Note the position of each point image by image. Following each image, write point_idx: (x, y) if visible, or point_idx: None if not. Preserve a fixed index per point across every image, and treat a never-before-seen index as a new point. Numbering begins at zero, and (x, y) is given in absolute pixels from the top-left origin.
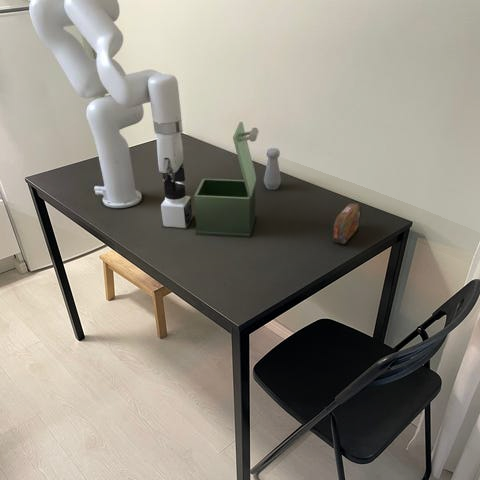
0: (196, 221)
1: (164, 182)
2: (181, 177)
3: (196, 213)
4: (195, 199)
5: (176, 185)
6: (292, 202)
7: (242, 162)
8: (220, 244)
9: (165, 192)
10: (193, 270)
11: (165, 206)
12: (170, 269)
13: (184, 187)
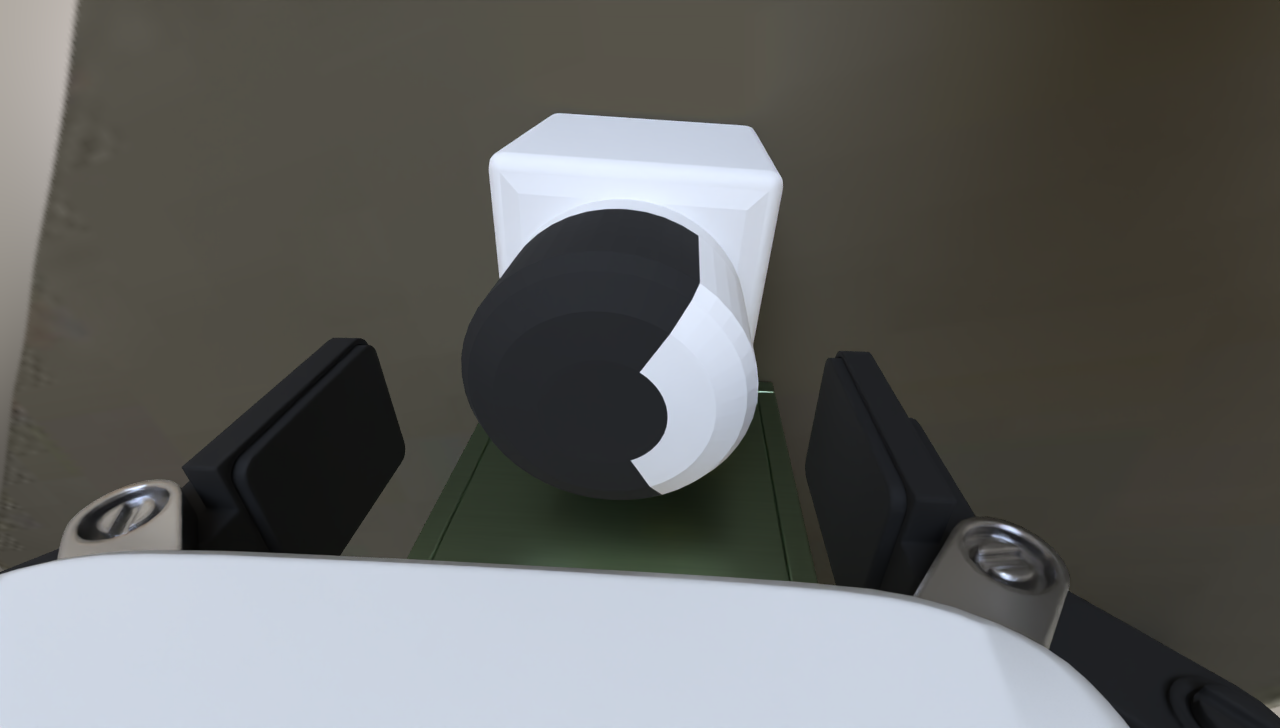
0: (474, 432)
1: (200, 462)
2: (819, 486)
3: (451, 480)
4: None
5: (573, 447)
6: None
7: None
8: (436, 487)
9: (320, 351)
10: (157, 408)
11: (495, 211)
12: (87, 301)
13: (608, 497)
